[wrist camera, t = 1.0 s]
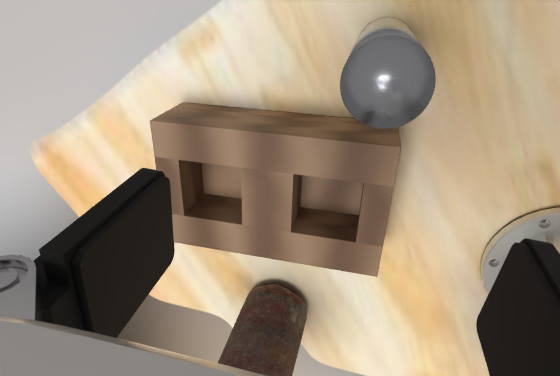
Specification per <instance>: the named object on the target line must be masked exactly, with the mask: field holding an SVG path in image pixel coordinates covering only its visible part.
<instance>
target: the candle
mask: <svg viewBox="0 0 560 376" xmlns="http://www.w3.org/2000/svg"><path fill="white" fill-rule="evenodd" d="M306 314H307V311H306V306H305V303H304V301H303V300H302V299H301V298H300V297H299V296H298V295H296V294H294V293H293V292H291V291H290V290H288V289H286V288H284V287H282V286H279V285H276V284H274V285H273V284H271V285H264V286H258V287H256V288H254V289H253V290H252V291H251V292H250V293H249V294H248V296H247V298H246V300H245V303H244V305H243V307H242V309H241V311H240V314H239V316H238V318H237V320H236V323H235V325H234V327H233V329H232V332H231V334H230V336H229V339H228V341H227V343H226V346H225V348H224V350H223V353H222V355H221V357H220V359H219V361H218V363H219V364H223V365H227V366H231V367H234V368H238V369H242V370H246V371H250V372H254V373H258V374H262V375H266V376H292V373H293V370H294V366H295V362H296V358H297V354H298V350H299V346H300V343H301V339H302V335H303V331H304V326H305V322H306Z"/></svg>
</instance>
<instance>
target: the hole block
mask: <svg viewBox="0 0 560 376" xmlns="http://www.w3.org/2000/svg"><path fill="white" fill-rule="evenodd" d="M150 126H151V133H152V140H153V148H154V155H155V163H156V170H158V171H162V172H163V173H164V174H165V177H168V178H169V180H170V187H171V204H172V220H173V236H174V242H176V243H182V244H188V245H194V246H200V247H206V248H211V249H217V250H223V251H229V252H235V253H241V254H247V255H253V256H258V257H264V258H270V259H276V260H282V261H288V262H294V263H300V264H305V265H311V266H317V267H323V268H329V269H335V270H341V271H346V272H352V273H358V274H364V275H370V276H376V277H377V275H378V270H379V264H380V259H381V253H382V248H383V242H384V237H385V232H386V226H387V221H388V215H389V210H390V204H391V199H392V193H393V188H394V183H395V177H396V172H397V166H398V161H399V155H400V150H401V143H400V135H399V127H395V128H388V129H380V128H374V127H370V126H367V125H365V124H363V123H361V122H360V121H358V120H357V119H354V118H343V117H333V116H322V115H311V114H301V113H290V112H279V111H269V110H258V109H247V108H236V107H226V106H215V105H204V104H194V103H181V104H179V105H177V106H175V107H174V108H172V109H170V110H168V111H167V112H165V113H163V114H161V115H159V116H158V117H156V118H154V119H152V120H150Z"/></svg>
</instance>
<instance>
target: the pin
mask: <svg viewBox="0 0 560 376" xmlns="http://www.w3.org/2000/svg"><path fill="white" fill-rule="evenodd" d="M434 88H435V69H434V66H433V63H432V61H431V58H430V57H429V55H428V54H427V52H426V51H425V49H424V48H423V46H422V45H421V44H420V42H419V41H418V40H417V38H416V37H415V35H414V34H413V33H412V31H411V30H410V28H409V27H408V26H407V25H406V24H405V23H404V22H402V21H401V20H399V19H396V18H392V17H384V18H380V19H377V20H374V21H373V22H371V23H370V24H368V25H367V26H366V27H365V28H364V30H363V31H362V33H361V34H360V36H359V38H358V40H357V42H356V44H355V46H354V48H353V50H352V52H351V54H350V56H349V58H348V60H347V62H346V64H345V66H344V68H343V71H342V75H341V81H340V90H341V96H342V100H343V102H344V104H345V106H346V108H347V110H348V111H349V112H350V114H351V115H352V116H353V117H354V118H356V119H357V120H358V121H360V122H361V123H363V124H365V125H367V126H370V127H374V128H380V129H388V128H395V127H399V126H402V125H404V124H406V123H408V122H410V121H412V120H413V119H415V118H416V117H417V116H418V115H420V113H421V112H422V111H423V110H424V109H425V108H426V106H427V105H428V103H429V102H430V100H431V97H432V95H433V92H434Z"/></svg>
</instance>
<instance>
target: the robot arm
mask: <svg viewBox="0 0 560 376" xmlns="http://www.w3.org/2000/svg"><path fill="white" fill-rule="evenodd" d="M39 251H40V256H39V257H38V258H36V259H35V260H34V261H32V260H31V259H30V258H28V257H25V256H22V255H6V256H0V376H266V375H262V374H258V373H254V372H250V371H246V370H242V369H238V368H234V367H231V366H227V365H223V364H219V363H215V362H210V361H206V360H203V359H198V358H194V357H191V356H187V355H182V354H179V353H175V352H171V351H167V350H162V349H159V348H154V347H151V346H147V345H143V344H139V343H134V342H131V341H127V340H123V339H119V338H117V336H118V335H119V334H120V332H121V331H122V330H123V328H124V327H125V326H126V324H127V323H128V321H129V320H130V319H131V317H132V316H133V315H134V313H135V312H136V310H137V309H138V308H139V306H140V305H141V304H142V302H143V301H144V299H145V298H146V297H147V295H148V294H149V293H150V291H151V290H152V289H153V287H154V286H155V284H156V283H157V282H158V280H159V279H160V278H161V276H162V275H163V273H164V272H165V271H166V269H167V268H168V267H169V265H170V264H171V262H172V260H173V257H174V236H173V220H172V204H171V187H170V180H169V178H168V177H165V174H164V173H163V172H162V171H158V170H152V169H147V168H142V169H140V170H139V171H138V172H136V173H135V174H134V175H132V176H131V177H130V178H129V179H127V180H126V181H125V182H124V183H122V184H121V185H120V186H119V187H117V188H116V189H115V190H114V191H112V192H111V193H110V194H109V195H107V196H106V197H105V198H104V199H102V200H101V201H100V202H98V203H97V204H96V205H95V206H93V207H92V208H91V209H90V210H88V211H87V212H86V213H85V214H83V215H82V216H81V217H80V218H78V219H77V220H76V221H75V222H73V223H72V224H71V225H70V226H69V227H67V228H66V229H65V230H63V231H62V232H61V233H60V234H58V235H57V236H56V237H54V238H53V239H52V240H51V241H49V242H48V243H47V244H46V245H44V246H43V247H42V248H41V249H39ZM480 270H481V278H482V281H483V284H484V287H485V289H486V291H487V293H488V297H487V299H486V301H485V303H484V305H483V307H482V309H481V311H480V313H479V316H478V318H477V325H476V326H477V333H478V336H479V340H480V343H481V346H482V350H483V353H484V357H485V360H486V363H487V367H488V370H489V374H490V376H560V207H558V208H551V209H545V210H541V211H538V212H534V213H531V214H528V215H526V216H524V217H521V218H519V219H517V220H515V221H513V222H512V223H510V224H509V225H507V226H506V227H505V228H503V229H502V230H501V231H500V232H499V233H498V234H497V235H496V236H495V237H493V239H492V240H491V241H490V243H489V244H488V246H487V247H486V249H485V251H484V254H483V256H482V260H481V267H480Z"/></svg>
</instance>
